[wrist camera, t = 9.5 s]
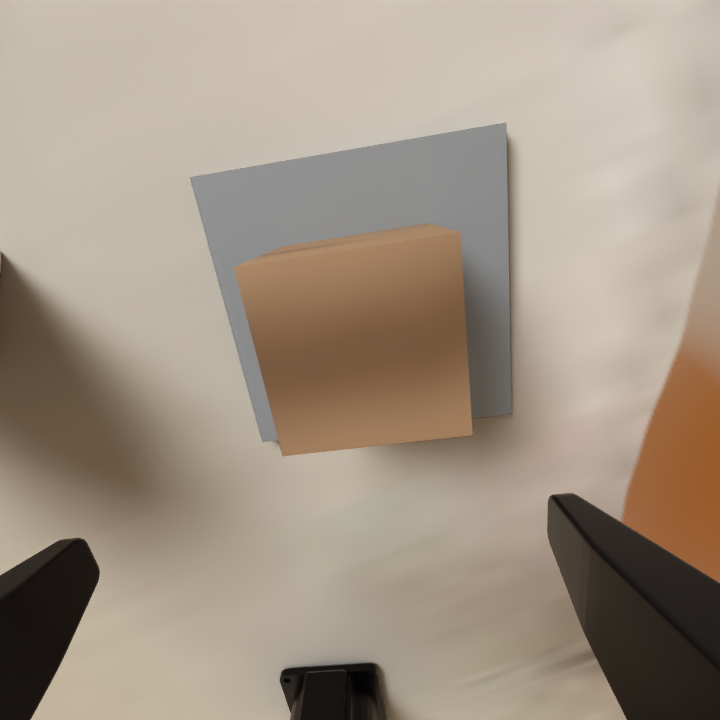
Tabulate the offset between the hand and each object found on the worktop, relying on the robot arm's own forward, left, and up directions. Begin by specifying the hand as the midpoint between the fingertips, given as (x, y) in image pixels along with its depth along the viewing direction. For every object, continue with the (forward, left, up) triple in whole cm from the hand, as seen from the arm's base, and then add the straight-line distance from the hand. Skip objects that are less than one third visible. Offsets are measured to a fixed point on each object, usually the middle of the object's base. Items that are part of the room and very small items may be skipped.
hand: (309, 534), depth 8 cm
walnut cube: (+2, -1, -11) cm, 11 cm away
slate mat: (+2, -1, -12) cm, 12 cm away
